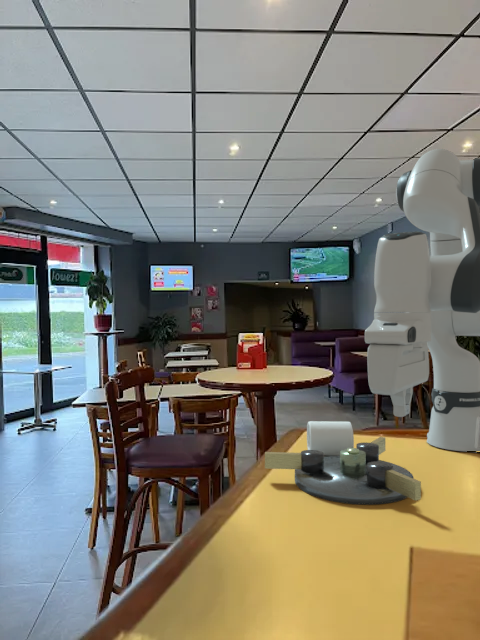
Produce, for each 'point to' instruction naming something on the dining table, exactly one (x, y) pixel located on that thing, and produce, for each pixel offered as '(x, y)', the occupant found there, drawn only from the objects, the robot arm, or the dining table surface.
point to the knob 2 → (372, 449)
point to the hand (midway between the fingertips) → (401, 415)
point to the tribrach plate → (347, 480)
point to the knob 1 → (296, 461)
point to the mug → (329, 437)
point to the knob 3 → (392, 480)
